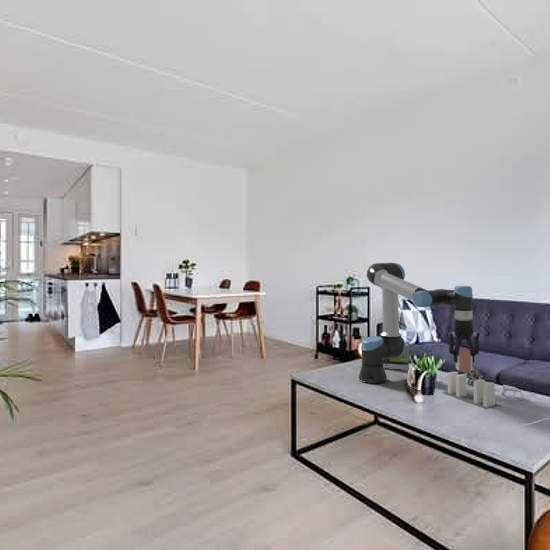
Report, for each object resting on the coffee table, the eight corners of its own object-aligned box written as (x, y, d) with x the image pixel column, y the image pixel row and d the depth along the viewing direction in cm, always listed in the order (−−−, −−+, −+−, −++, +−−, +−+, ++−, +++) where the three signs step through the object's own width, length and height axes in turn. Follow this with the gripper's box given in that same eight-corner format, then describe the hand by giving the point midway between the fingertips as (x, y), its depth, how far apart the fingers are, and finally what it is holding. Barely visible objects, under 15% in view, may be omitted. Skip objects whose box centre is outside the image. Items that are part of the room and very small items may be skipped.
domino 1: (447, 392, 197) (447, 372, 197) (455, 391, 199) (455, 371, 199) (450, 393, 196) (450, 373, 195) (458, 392, 198) (458, 372, 197)
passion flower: (476, 397, 207) (473, 382, 201) (456, 388, 216) (453, 373, 210) (487, 382, 212) (484, 366, 206) (467, 374, 220) (464, 359, 214)
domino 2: (470, 371, 185) (470, 349, 185) (459, 371, 185) (458, 349, 185) (468, 370, 187) (468, 349, 186) (457, 370, 187) (457, 349, 187)
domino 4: (473, 402, 184) (473, 380, 183) (481, 400, 186) (481, 379, 185) (477, 403, 182) (477, 381, 182) (484, 401, 184) (484, 380, 184)
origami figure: (494, 396, 192) (494, 386, 192) (504, 393, 196) (504, 383, 196) (520, 404, 182) (520, 393, 181) (530, 400, 186) (530, 390, 185)
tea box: (409, 367, 248) (409, 343, 247) (407, 371, 239) (407, 346, 238) (384, 365, 254) (384, 341, 253) (381, 369, 245) (381, 344, 244)
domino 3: (456, 395, 193) (455, 375, 192) (463, 394, 195) (463, 373, 194) (459, 396, 191) (458, 376, 191) (466, 395, 193) (466, 374, 193)
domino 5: (483, 405, 179) (483, 383, 179) (491, 404, 181) (491, 382, 181) (486, 407, 177) (486, 384, 177) (494, 405, 179) (494, 383, 179)
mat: (441, 393, 198) (441, 392, 198) (456, 390, 202) (456, 389, 202) (486, 410, 175) (486, 409, 175) (501, 406, 179) (501, 405, 179)
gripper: (446, 320, 182) (446, 371, 183) (487, 320, 181) (487, 371, 181) (440, 318, 190) (441, 367, 191) (480, 318, 188) (480, 367, 189)
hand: (464, 369), depth 186 cm, fingers closed on domino 2, 5 cm apart
